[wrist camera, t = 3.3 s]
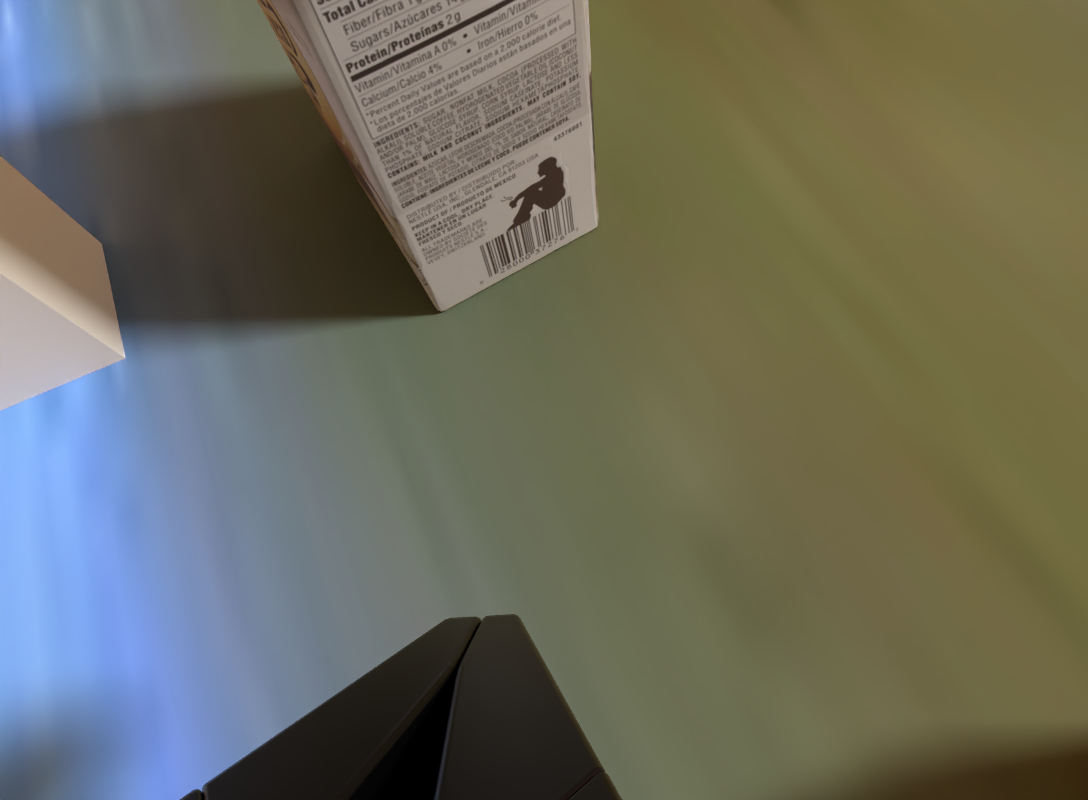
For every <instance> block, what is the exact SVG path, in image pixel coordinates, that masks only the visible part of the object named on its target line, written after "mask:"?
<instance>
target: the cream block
mask: <svg viewBox="0 0 1088 800" xmlns="http://www.w3.org/2000/svg"><path fill="white" fill-rule="evenodd" d="M123 359H125V353H124V348H123V343H122V339H121V334H120V329H119V324H118V319H117V314H116V310H115V305H114V300H113V295H112V290H111V285H110V280H109V276H108V271H107V266H106V261H105V256H104V251H103V247H102V243H100V242H99V241H98V240H97V239H96V238H95V237H93V236H92V235H91V234H90V233H89V232H88V231H87V230H85V229H84V228H83V227H82V226H81V225H80V224H78V223H77V222H76V221H75V220H74V219H73V218H72V217H70V216H69V215H68V214H67V213H66V212H65V211H63V210H62V209H61V208H60V207H59V206H58V205H57V204H55V203H54V202H53V201H52V200H51V199H50V198H48V197H47V196H46V195H45V194H44V193H43V192H42V191H40V190H39V189H38V188H37V187H36V186H35V185H33V184H32V183H31V182H30V181H29V180H28V179H27V178H25V177H24V176H23V175H22V174H21V173H20V172H18V171H17V170H16V169H15V168H14V167H13V166H12V165H10V164H9V163H8V162H7V161H6V160H5V159H3V158H2V157H1V156H0V411H1V410H3V409H6V408H8V407H10V406H13V405H15V404H18V403H20V402H22V401H25V400H27V399H29V398H32V397H34V396H37V395H39V394H41V393H44V392H46V391H49V390H51V389H53V388H56V387H58V386H61V385H63V384H65V383H68V382H70V381H73V380H75V379H77V378H80V377H82V376H84V375H87V374H89V373H92V372H94V371H96V370H99V369H101V368H104V367H106V366H108V365H111V364H113V363H116V362H118V361H120V360H123Z"/></svg>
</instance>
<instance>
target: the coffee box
mask: <svg viewBox="0 0 1088 800" xmlns="http://www.w3.org/2000/svg"><path fill="white" fill-rule="evenodd" d="M257 1H258V3H259V5H260V6H261V8H262V10H263V12H264V14H265V16H266V17H267V19H268V21H269V23H270V25H271V27H272V28H273V30H274V32H275V34H276V36H277V38H278V39H279V41H280V43H281V45H282V47H283V49H284V51H285V52H286V54H287V56H288V58H289V60H290V62H291V63H292V65H293V67H294V69H295V71H296V73H297V74H298V76H299V78H300V80H301V82H302V83H303V85H304V87H305V89H306V91H307V92H308V94H309V96H310V98H311V100H312V101H313V103H314V105H315V107H316V108H317V110H318V112H319V114H320V116H321V118H322V119H323V121H324V123H325V125H326V126H327V128H328V130H329V132H330V133H331V135H332V137H333V139H334V140H335V142H336V144H337V146H338V147H339V149H340V151H341V152H342V154H343V156H344V157H345V159H346V161H347V162H348V164H349V166H350V168H351V169H352V171H353V173H354V174H355V176H356V178H357V180H358V181H359V183H360V184H361V186H362V188H363V189H364V191H365V193H366V194H367V196H368V197H369V199H370V201H371V202H372V204H373V206H374V207H375V209H376V210H377V212H378V214H379V215H380V217H381V219H382V220H383V222H384V223H385V225H386V227H387V228H388V230H389V231H390V233H391V235H392V236H393V238H394V240H395V241H396V243H397V244H398V246H399V248H400V249H401V251H402V253H403V254H404V256H405V257H406V259H407V261H408V262H409V264H410V266H411V267H412V269H413V271H414V272H415V274H416V276H417V277H418V279H419V281H420V282H421V284H422V286H423V287H424V289H425V291H426V292H427V294H428V296H429V298H430V299H431V301H432V302H433V304H434V306H435V307H436V309H437V310H438V311H445V310H447V309H449V308H451V307H453V306H455V305H456V304H458V303H460V302H462V301H464V300H465V299H467V298H469V297H471V296H473V295H475V294H476V293H478V292H480V291H482V290H484V289H486V288H487V287H489V286H491V285H493V284H495V283H497V282H498V281H500V280H502V279H504V278H506V277H508V276H509V275H511V274H513V273H515V272H517V271H519V270H520V269H522V268H524V267H526V266H528V265H529V264H531V263H533V262H535V261H537V260H539V259H540V258H542V257H544V256H546V255H548V254H549V253H551V252H553V251H554V250H556V249H558V248H560V247H562V246H564V245H566V244H568V243H570V242H571V241H573V240H575V239H577V238H578V237H580V236H582V235H584V234H586V233H588V232H589V231H591V230H593V229H595V228H596V227H597V225H598V203H597V187H596V165H595V143H594V121H593V102H592V78H591V52H590V32H589V11H588V0H257Z"/></svg>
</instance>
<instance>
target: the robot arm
mask: <svg viewBox="0 0 1088 800" xmlns="http://www.w3.org/2000/svg"><path fill="white" fill-rule="evenodd" d="M180 800H622V799H621V797H620V795H619V793H618V792H617V790H616V788H615V786H614V785H613V783H612V781H611V779H610V777H609V776H608V775H607V774H606V773H605V770H604V769H603V767H602V765H601V763H600V761H599V760H598V758H597V756H596V754H595V752H594V751H593V749H592V747H591V745H590V743H589V742H588V740H587V738H586V736H585V734H584V732H583V731H582V729H581V727H580V725H579V723H578V722H577V720H576V718H575V716H574V714H573V713H572V711H571V709H570V707H569V705H568V704H567V702H566V700H565V698H564V696H563V695H562V693H561V691H560V689H559V687H558V686H557V684H556V682H555V680H554V678H553V677H552V675H551V673H550V671H549V669H548V668H547V666H546V664H545V662H544V660H543V659H542V657H541V655H540V653H539V651H538V650H537V648H536V646H535V644H534V642H533V641H532V639H531V637H530V635H529V633H528V632H527V630H526V628H525V626H524V624H523V623H522V621H521V619H520V618H519V617H518V616H517V615H515V614H509V615H493V616H486V617H484V618H483V620H481V619H480V618H478V617H459V618H448V619H446V620H444V621H442V622H441V623H440V624H438V625H437V626H435V627H434V628H432V629H431V630H429V631H428V632H426V633H425V634H423V635H422V636H421V637H419V638H418V639H416V640H415V641H413V642H412V643H410V644H409V645H407V646H406V647H404V648H403V649H402V650H400V651H399V652H397V653H396V654H394V655H393V656H391V657H390V658H388V659H387V660H385V661H384V662H383V663H381V664H380V665H378V666H377V667H375V668H374V669H372V670H371V671H369V672H368V673H366V674H365V675H364V676H362V677H361V678H359V679H358V680H356V681H355V682H353V683H352V684H350V685H349V686H347V687H346V688H345V689H343V690H342V691H340V692H339V693H337V694H336V695H334V696H333V697H331V698H330V699H328V700H327V701H326V702H324V703H323V704H321V705H320V706H318V707H317V708H315V709H314V710H312V711H311V712H309V713H308V714H307V715H305V716H304V717H302V718H301V719H299V720H298V721H296V722H295V723H293V724H292V725H290V726H289V727H288V728H286V729H285V730H283V731H282V732H280V733H279V734H277V735H276V736H274V737H273V738H271V739H270V740H269V741H267V742H266V743H264V744H263V745H261V746H260V747H258V748H257V749H255V750H254V751H252V752H251V753H250V754H248V755H247V756H245V757H244V758H242V759H241V760H239V761H238V762H236V763H235V764H233V765H232V766H231V767H229V768H228V769H226V770H225V771H223V772H222V773H220V774H219V775H217V776H216V777H214V778H213V779H212V780H210V781H209V782H207V783H206V784H205V785H204V786H203V788H202V792H201V791H200V790H198V789H196V790H193V791H191V792H190V793H189V794H187V795H186V796H184V797H183V798H181V799H180Z"/></svg>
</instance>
